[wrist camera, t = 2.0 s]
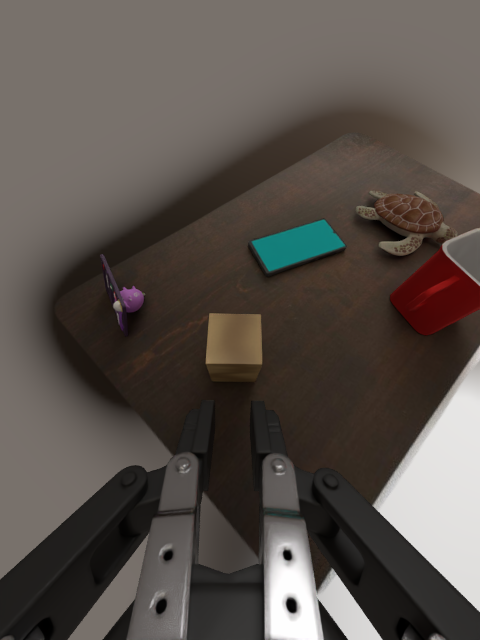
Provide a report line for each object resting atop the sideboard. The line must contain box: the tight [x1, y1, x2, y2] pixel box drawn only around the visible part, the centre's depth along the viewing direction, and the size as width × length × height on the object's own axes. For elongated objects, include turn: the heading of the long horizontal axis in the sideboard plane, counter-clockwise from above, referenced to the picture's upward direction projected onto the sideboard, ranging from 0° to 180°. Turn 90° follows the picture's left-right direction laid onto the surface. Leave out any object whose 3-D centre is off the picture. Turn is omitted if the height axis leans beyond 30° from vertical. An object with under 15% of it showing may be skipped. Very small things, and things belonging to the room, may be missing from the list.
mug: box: [390, 228, 480, 335], centre depth 31 cm, size 12×8×11 cm
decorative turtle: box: [356, 191, 457, 256], centre depth 41 cm, size 18×17×5 cm
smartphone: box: [248, 218, 347, 276], centre depth 40 cm, size 7×1×15 cm
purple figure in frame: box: [100, 254, 145, 337], centre depth 32 cm, size 7×5×9 cm
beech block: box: [206, 314, 262, 382], centre depth 28 cm, size 6×6×8 cm
